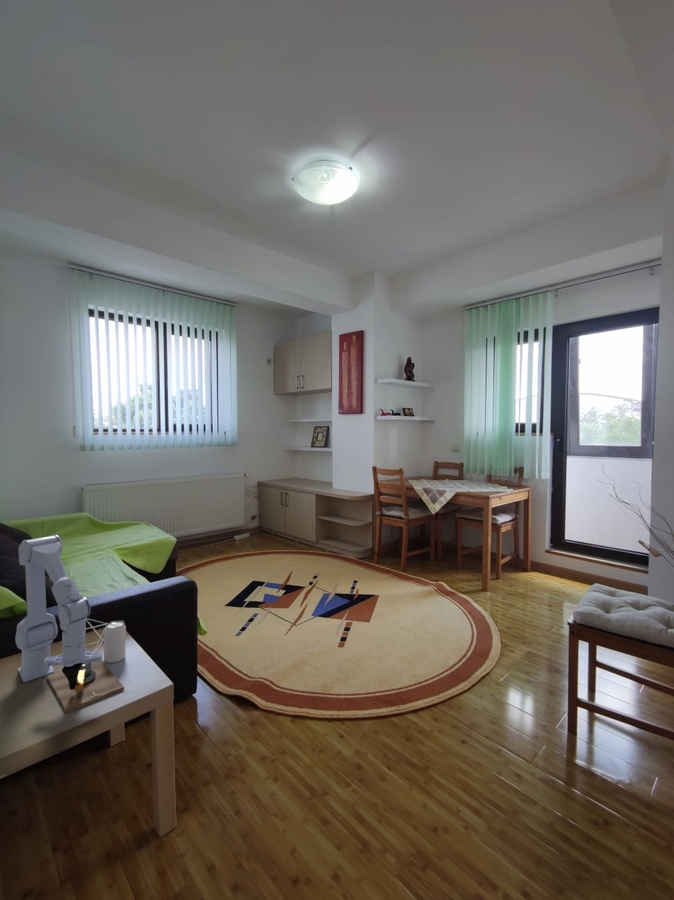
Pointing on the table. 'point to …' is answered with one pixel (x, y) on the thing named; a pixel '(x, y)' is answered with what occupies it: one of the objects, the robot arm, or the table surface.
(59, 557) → the robot arm
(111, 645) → the can
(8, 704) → the table surface
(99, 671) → the stand
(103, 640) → the geometric polyhedron
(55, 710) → the table surface
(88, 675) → the lever door handle
